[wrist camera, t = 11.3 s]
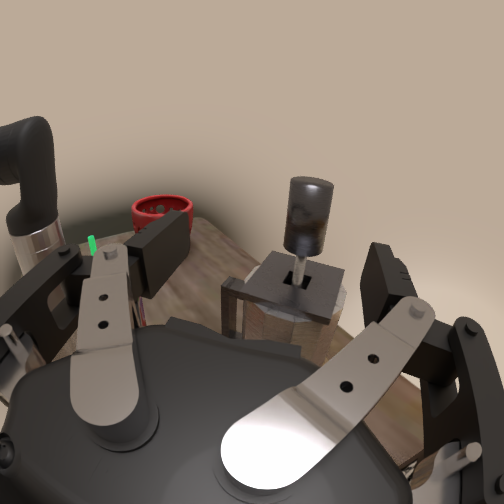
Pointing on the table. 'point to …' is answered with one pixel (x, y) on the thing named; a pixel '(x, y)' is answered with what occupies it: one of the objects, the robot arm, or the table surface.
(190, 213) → the plant pot
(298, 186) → the plunger
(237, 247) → the table surface
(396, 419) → the table surface
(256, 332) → the press carafe
